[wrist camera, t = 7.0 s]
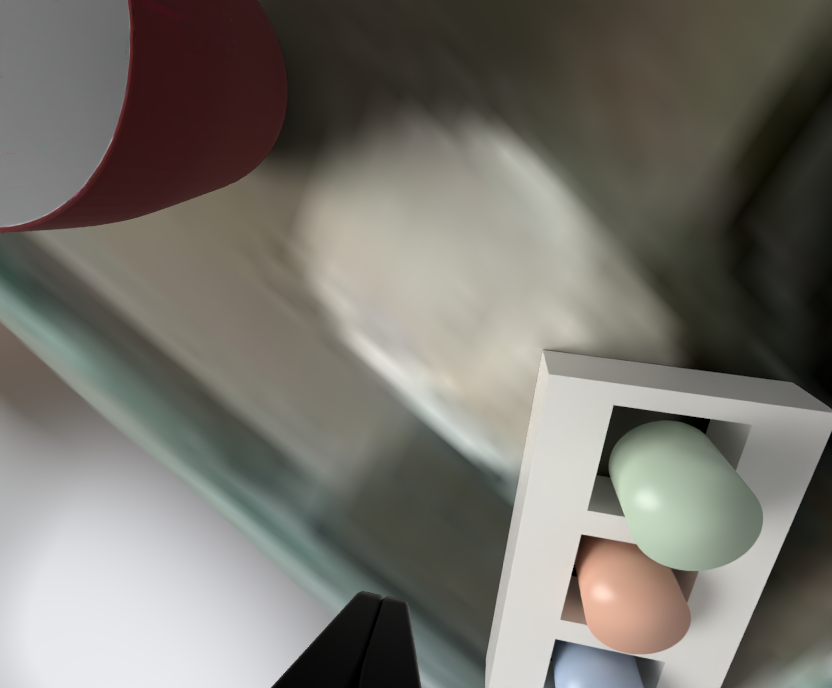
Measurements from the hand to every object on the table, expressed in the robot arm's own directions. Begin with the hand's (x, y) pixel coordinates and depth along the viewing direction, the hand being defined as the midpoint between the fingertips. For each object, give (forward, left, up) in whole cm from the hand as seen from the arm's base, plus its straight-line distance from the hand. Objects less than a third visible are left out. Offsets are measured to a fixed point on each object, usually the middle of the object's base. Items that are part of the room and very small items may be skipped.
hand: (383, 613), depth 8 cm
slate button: (-8, +13, -11) cm, 19 cm away
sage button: (-8, +2, -10) cm, 13 cm away
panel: (-8, +8, -12) cm, 16 cm away
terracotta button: (-8, +8, -11) cm, 16 cm away
